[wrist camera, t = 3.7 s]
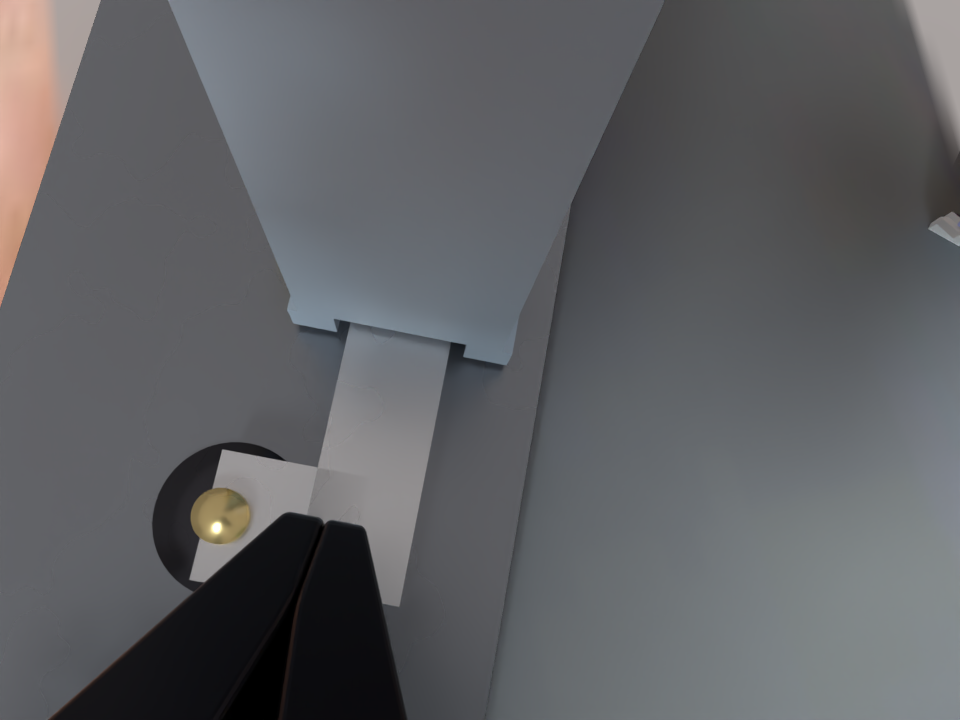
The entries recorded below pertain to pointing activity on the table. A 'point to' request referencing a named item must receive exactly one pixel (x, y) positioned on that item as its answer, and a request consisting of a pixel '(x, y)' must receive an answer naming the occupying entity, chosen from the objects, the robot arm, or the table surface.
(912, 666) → the table surface
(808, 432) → the table surface
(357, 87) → the gray rectangular block
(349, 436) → the flange plate
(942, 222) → the diorama
